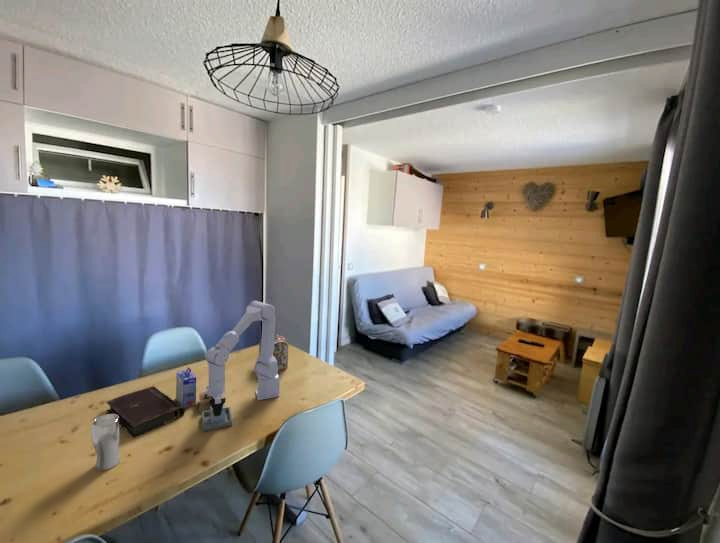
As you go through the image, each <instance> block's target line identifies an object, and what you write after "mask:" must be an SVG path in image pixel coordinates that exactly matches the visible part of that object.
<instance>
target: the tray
mask: <svg viewBox="0 0 720 543" xmlns="http://www.w3.org/2000/svg"><path fill="white" fill-rule="evenodd" d="M201 418H202V419H201V420H202V422H201V423H202V433H205V432H210V431H215V430H218V429H223V428H228V427H232V426H233V417H232V412H231V406H227V407H226V406H225V422H220V423H216V424H211V420H210V410H206V411H201Z"/></svg>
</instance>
